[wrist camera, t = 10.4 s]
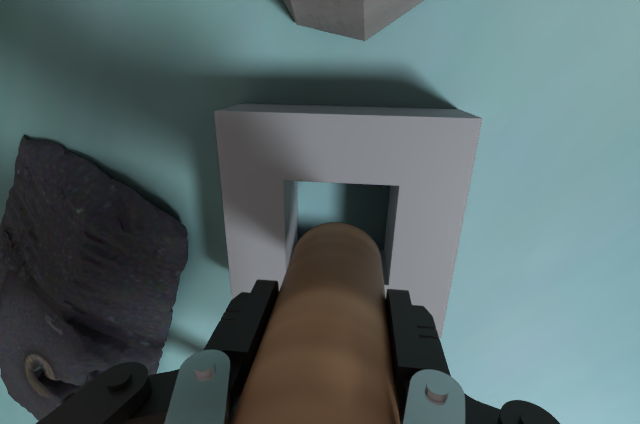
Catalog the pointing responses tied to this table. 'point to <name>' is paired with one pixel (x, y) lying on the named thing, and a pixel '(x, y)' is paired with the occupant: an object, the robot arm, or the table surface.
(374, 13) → the coffeepot
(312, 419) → the peg
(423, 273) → the socket
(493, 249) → the table surface
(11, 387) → the dark slate chunk
